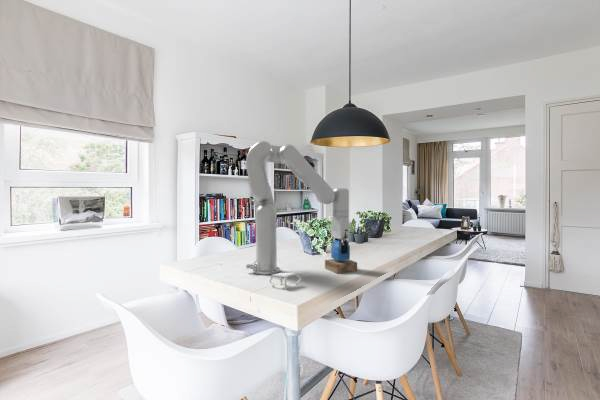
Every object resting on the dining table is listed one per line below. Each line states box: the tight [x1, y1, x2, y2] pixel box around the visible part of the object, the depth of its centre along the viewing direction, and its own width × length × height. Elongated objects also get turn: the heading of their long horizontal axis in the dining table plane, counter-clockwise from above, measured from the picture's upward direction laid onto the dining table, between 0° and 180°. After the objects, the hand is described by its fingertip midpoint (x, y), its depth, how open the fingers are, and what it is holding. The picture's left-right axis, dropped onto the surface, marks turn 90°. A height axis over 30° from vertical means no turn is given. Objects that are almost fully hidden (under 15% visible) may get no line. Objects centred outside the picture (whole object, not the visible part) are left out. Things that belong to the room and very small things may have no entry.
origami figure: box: [269, 272, 303, 290], centre depth 131 cm, size 12×8×5 cm
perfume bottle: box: [330, 239, 351, 260], centre depth 157 cm, size 6×6×12 cm
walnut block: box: [324, 258, 358, 274], centre depth 157 cm, size 11×11×4 cm
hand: (340, 251), depth 157 cm, fingers closed on perfume bottle, 6 cm apart
